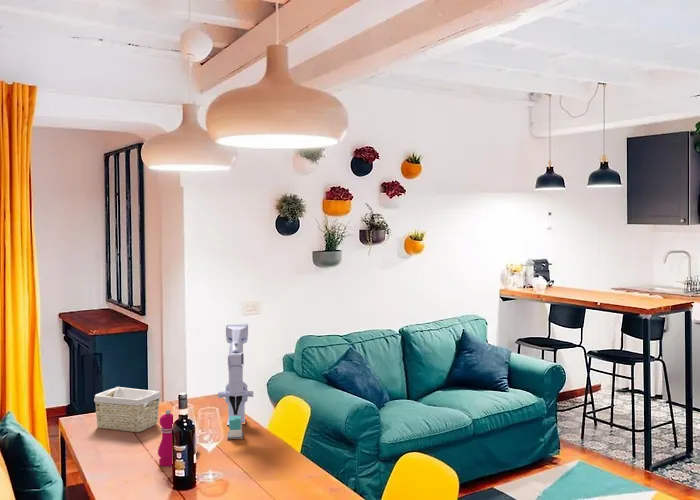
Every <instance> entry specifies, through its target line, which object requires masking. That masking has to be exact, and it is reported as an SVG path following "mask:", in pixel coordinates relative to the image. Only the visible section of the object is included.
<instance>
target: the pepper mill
mask: <svg viewBox="0 0 700 500" xmlns="http://www.w3.org/2000/svg"><path fill="white" fill-rule="evenodd" d="M173 415H174V414H172V413H171V410H170V409H167V410H165V414H162V415H161V416H160V418H159V425H160V426H161V428H160V432H161V435H162V436H161V441H160V444H159V446H158V448H157V455H158V457H159V460H158V461H159V462H158V464H159V465H160V466H161V467H172V466H173V465H172V424H173Z"/></svg>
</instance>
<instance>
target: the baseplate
mask: <svg viewBox="0 0 700 500" xmlns="http://www.w3.org/2000/svg"><path fill="white" fill-rule="evenodd" d="M241 438H243V439H244V431H243V430H242V437H229V431H228V432H227V439H241Z"/></svg>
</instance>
